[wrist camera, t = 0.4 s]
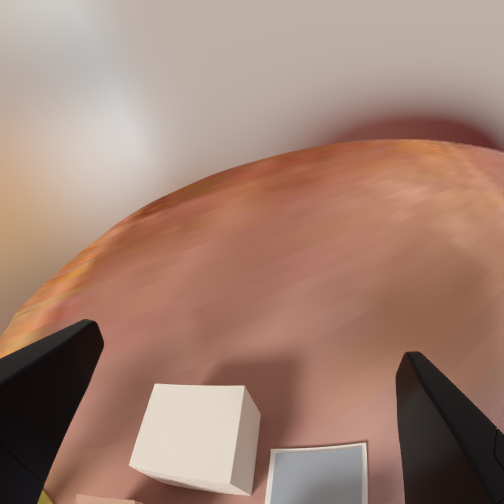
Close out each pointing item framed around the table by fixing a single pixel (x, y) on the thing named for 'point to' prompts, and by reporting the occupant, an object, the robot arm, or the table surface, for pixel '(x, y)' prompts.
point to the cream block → (199, 438)
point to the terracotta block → (102, 500)
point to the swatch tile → (318, 475)
